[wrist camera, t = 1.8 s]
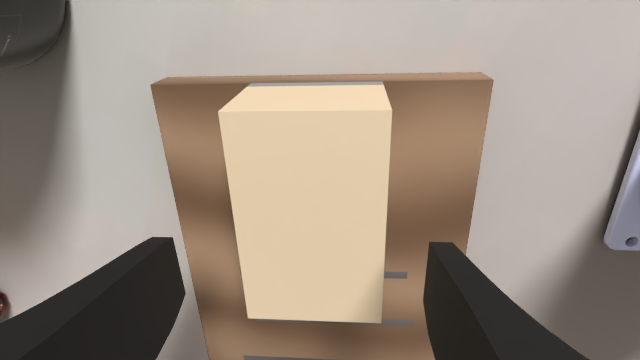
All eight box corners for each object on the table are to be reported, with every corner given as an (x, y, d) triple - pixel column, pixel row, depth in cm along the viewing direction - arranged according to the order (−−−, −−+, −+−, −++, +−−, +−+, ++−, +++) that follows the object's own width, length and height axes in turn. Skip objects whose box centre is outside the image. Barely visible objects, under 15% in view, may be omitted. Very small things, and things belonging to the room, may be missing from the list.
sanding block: (382, 81, 14) (392, 109, 11) (375, 257, 18) (381, 323, 14) (250, 83, 15) (217, 111, 11) (268, 254, 18) (247, 318, 15)
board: (166, 77, 17) (150, 84, 15) (481, 72, 16) (493, 79, 14) (235, 430, 27) (229, 453, 25) (427, 442, 26) (431, 466, 24)
